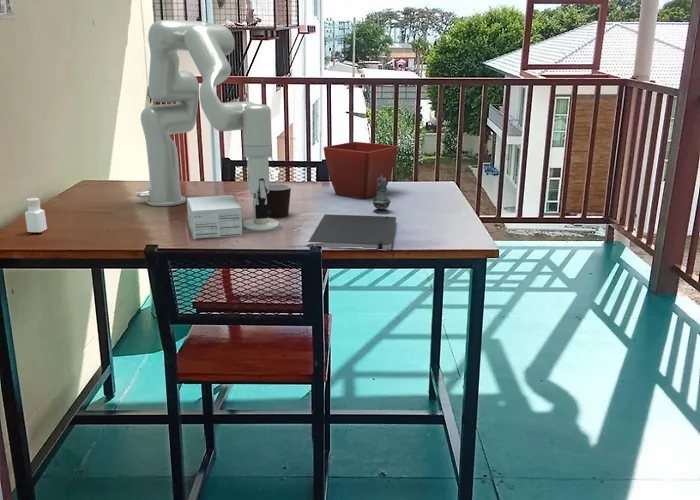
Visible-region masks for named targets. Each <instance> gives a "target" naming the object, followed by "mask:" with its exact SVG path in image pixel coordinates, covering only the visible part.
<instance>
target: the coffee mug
mask: <svg viewBox="0 0 700 500" xmlns="http://www.w3.org/2000/svg"><path fill="white" fill-rule="evenodd" d="M291 190H292V187H291V185H289V184H282V183H274V184H270V183H269V193H268V194H266V198H267V215H268V217H267V218H271V219H281V218H285V217H288V216H289V211H290V210H289V209H290V203H291V201H290V200H291Z"/></svg>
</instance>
